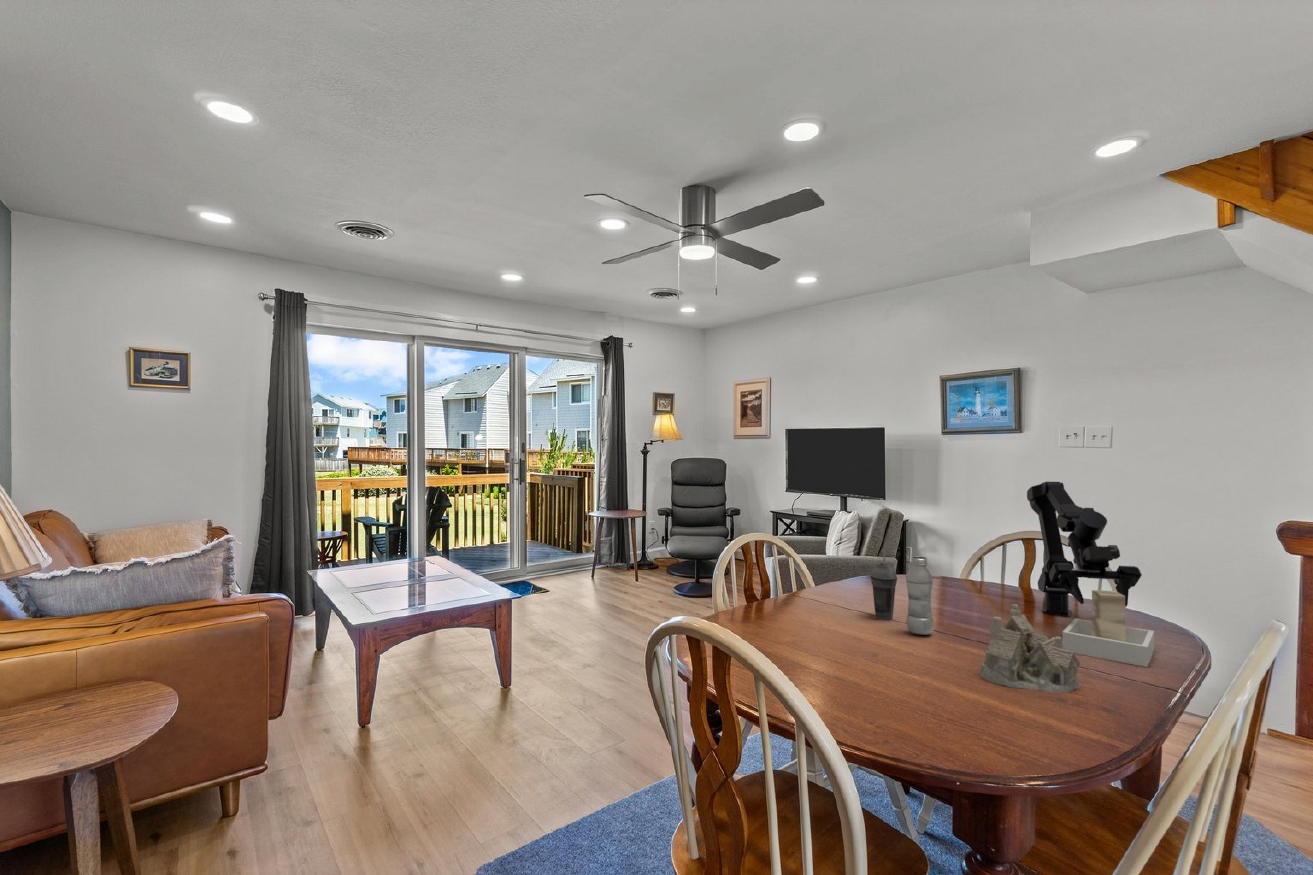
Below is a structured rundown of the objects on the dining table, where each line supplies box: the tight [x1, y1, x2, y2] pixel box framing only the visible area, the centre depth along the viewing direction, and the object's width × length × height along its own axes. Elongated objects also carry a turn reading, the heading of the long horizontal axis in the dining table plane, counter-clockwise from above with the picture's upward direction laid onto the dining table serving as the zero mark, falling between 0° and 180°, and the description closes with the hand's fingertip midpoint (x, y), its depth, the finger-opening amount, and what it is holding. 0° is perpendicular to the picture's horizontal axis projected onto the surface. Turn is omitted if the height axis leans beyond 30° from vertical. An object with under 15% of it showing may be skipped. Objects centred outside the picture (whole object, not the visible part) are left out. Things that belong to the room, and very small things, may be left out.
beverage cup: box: [870, 548, 898, 621], centre depth 176 cm, size 7×7×20 cm
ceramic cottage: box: [978, 603, 1081, 693], centre depth 129 cm, size 16×16×15 cm
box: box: [1062, 618, 1155, 668], centre depth 148 cm, size 16×16×4 cm
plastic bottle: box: [905, 556, 935, 636], centre depth 161 cm, size 6×7×20 cm
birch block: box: [1091, 589, 1127, 642], centre depth 148 cm, size 5×5×13 cm
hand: (1104, 604), depth 150 cm, fingers open, 9 cm apart
